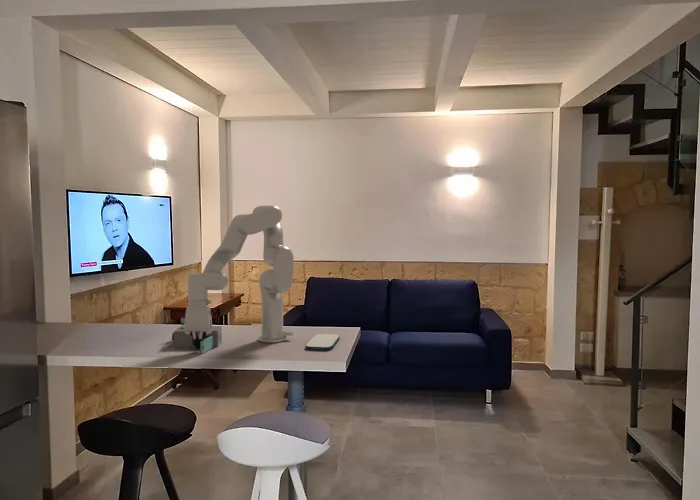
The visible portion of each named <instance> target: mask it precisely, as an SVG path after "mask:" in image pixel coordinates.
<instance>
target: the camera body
mask: <svg viewBox="0 0 700 500" xmlns="http://www.w3.org/2000/svg"><path fill="white" fill-rule="evenodd" d="M211 330H212V333H211V334H207V335H205V336H204V337H203V340H204V339H206V338H208V337H210V336H214V348H219V346H220V345H221V344H222V342H223V341H222V334H223V333H222V330H223V329H222V325H217V326H215V325H212V328H211ZM197 334H198V338H199V334H200V332H197ZM171 341H172V342H173V346H174V347H173V348H175V349H181V348H184V347H192V348H196V347H195V346H194V339H193V337H192V336H191V335H188V334H185V325H182V324H181V325H180V326H179V327H177V328H176V329H175V330H174V331H173V332H172V335H171Z"/></svg>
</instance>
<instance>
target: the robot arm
mask: <svg viewBox="0 0 700 500" xmlns="http://www.w3.org/2000/svg"><path fill="white" fill-rule="evenodd" d="M282 219H283V212H282V210H281V209H280V208H279V207H278V206H276V205H271V204H270V205H258V206H256V207H255V208H254V209H253V210H252V213H248V214H247V213H246V214H245V213H243V214H237V215H236V216H234V217H233V218H232V220H231V222H230V224H229V226H228V228H227V231H226V232H225V235H224V237H223V238H222V242H221V243H220V245H219V247H218V248H216V250H215V251H214V253H213V254H212V255H211V256H210V257H209V259H208V261H207V263H206V264H205V267H204V269H203V271H202V272H191V273H190V274H188V275H187V292H188V293H187V295H188V297H187V299H188V300H187V301H188V302H187V304H188V305H187V306H186V310H185V316H184V318H185V334H188V335H191V336H192V337H193V339H194V346H195V347H194V348H195V349H196V350H197V349H198V350H199V349H200V350H201V343H200V342H201V341H202V340H203V337H204V336H205V335H207V334H211V333H212V330H211V328H212V326H213V320H212V318H213V317H212V310H211V306H210V305H211V304H212V300H209V298H208V292H209V291H222V290H225V288H227V287H228V285H229V277H228V276H227V275H226V274H225V273H223V272H222V271H223V269H224V267H225V266H226V265H227V264H228V262H230V261H232V260H233V259H234V258H237V256H239V254H240V253H241V251H242V249H243V246H244V244H245V242H246V239H247V237H248V236H249V235H250V236H251V235H256V234H258V233H260V232H263V250H262V251H263V254H262V256H263V257H262V258H263V262H264V263H265V264H266V265H267V266H269V267H273V268H270V269H269V268H268V269H266V270H264V271H263V272H262V273H260V276H259V280H258V281H259V289H260V296H261V305H260V306H261V335H259V336H258V339H257V340H258V341H259V342H262V343H268V344H269V343H270V344H271V343H280V342H284V341H287V336H290V337H291V336H293V337H294V331H293V330H292V331H291V330H285V328H284V299H283V297H284V296H283V294H284V293H287V292H289V291H290V290H291V288H292V286H293V281H294V269H295V268H294V264H295V263H294V262H295V257H294V254H293V252H292V249H291V248H290V247H287V246H286V245H284V232H283V227H282V225H281V223H280V222H281V221H282ZM197 332H200V334H199V338H198V334H197Z"/></svg>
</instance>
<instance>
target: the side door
mask: <svg viewBox="0 0 700 500" xmlns="http://www.w3.org/2000/svg"><path fill="white" fill-rule="evenodd" d="M200 343H201V348H200V354H204V353H206V352H207V351H210V350H211V349H214V348H215V347H214V336H210V337H208V338H206V339H204V340H202V341H201V342H200Z"/></svg>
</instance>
